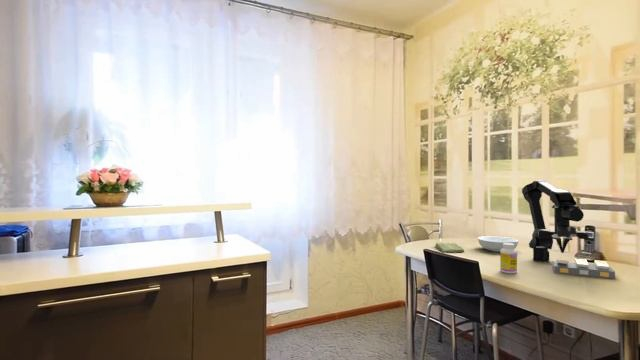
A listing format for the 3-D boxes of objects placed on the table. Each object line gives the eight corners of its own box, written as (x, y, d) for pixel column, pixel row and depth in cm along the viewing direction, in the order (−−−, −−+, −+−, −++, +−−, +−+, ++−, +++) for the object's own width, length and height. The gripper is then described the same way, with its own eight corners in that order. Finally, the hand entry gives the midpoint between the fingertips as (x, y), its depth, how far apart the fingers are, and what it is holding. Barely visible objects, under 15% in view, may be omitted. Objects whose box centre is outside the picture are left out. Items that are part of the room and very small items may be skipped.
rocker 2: (577, 266, 153) (577, 263, 153) (575, 261, 159) (575, 258, 158) (588, 267, 151) (588, 264, 151) (586, 262, 157) (586, 259, 156)
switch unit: (554, 272, 155) (554, 265, 155) (552, 267, 164) (552, 260, 164) (615, 279, 145) (615, 270, 145) (609, 272, 154) (609, 265, 154)
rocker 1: (558, 262, 157) (558, 259, 157) (556, 261, 162) (556, 258, 162) (568, 263, 155) (568, 260, 155) (567, 262, 160) (567, 259, 160)
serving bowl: (526, 254, 192) (526, 241, 192) (488, 254, 192) (487, 242, 192) (506, 246, 213) (506, 235, 212) (472, 247, 213) (472, 235, 213)
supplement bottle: (510, 274, 154) (510, 245, 154) (497, 271, 160) (496, 243, 159) (520, 272, 157) (520, 244, 157) (506, 269, 163) (506, 241, 163)
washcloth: (442, 253, 198) (442, 248, 198) (434, 247, 216) (434, 242, 216) (466, 253, 198) (466, 248, 197) (455, 247, 215) (455, 242, 215)
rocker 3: (597, 268, 150) (597, 265, 150) (594, 262, 155) (594, 260, 155) (609, 269, 148) (609, 266, 148) (605, 263, 153) (605, 260, 153)
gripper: (539, 219, 157) (539, 254, 158) (590, 221, 148) (591, 258, 148) (537, 217, 167) (537, 249, 167) (585, 218, 158) (586, 253, 158)
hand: (562, 252), depth 160 cm, fingers closed
